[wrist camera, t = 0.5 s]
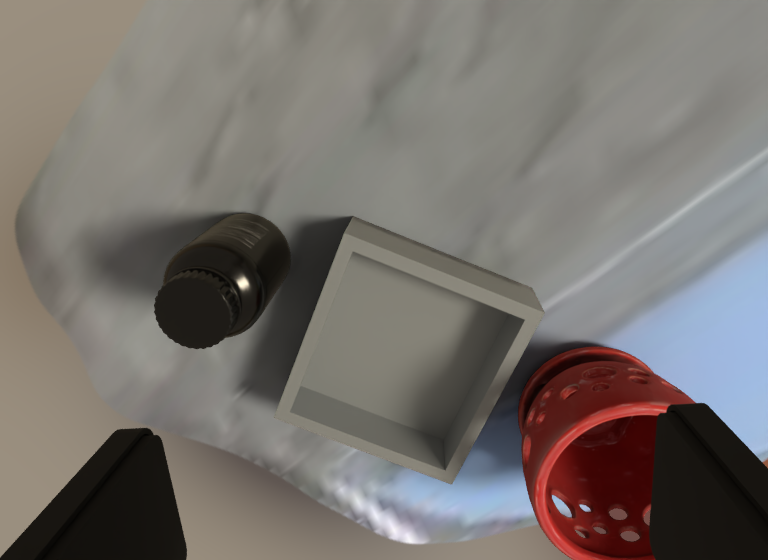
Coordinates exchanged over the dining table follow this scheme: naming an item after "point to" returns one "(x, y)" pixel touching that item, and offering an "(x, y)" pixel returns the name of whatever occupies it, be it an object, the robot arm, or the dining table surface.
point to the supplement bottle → (222, 281)
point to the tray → (407, 351)
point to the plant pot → (593, 448)
